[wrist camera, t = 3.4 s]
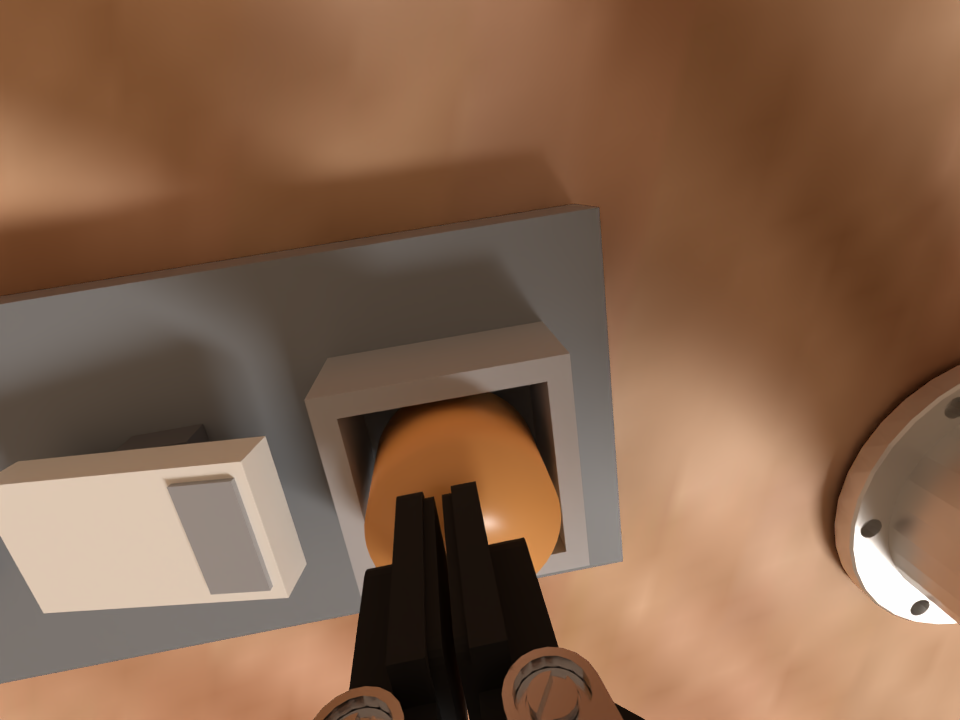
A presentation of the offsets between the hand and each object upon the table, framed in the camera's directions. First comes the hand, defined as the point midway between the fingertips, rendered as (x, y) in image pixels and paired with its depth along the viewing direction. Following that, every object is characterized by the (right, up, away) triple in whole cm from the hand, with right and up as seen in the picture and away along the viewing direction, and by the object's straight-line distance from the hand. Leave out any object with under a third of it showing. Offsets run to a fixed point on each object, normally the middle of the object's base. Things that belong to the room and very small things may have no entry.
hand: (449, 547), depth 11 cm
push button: (0, +1, +4) cm, 4 cm away
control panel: (-8, +1, +7) cm, 10 cm away
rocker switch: (-8, 0, +3) cm, 8 cm away
